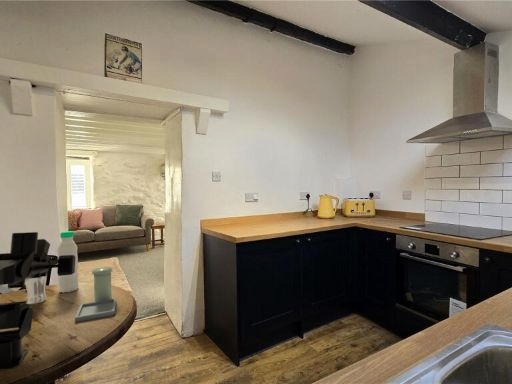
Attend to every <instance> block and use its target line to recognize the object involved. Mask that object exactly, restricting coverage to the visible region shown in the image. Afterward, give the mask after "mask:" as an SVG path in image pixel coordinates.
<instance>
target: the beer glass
mask: <svg viewBox="0 0 512 384" xmlns="http://www.w3.org/2000/svg"><path fill="white" fill-rule="evenodd" d="M47 278H48V275H47V276H44V277H40V278H29V279H25V288H26V291H27V292H26V293H27V297H26V300H25V301H26V304H30V305H37V304H39V303H40V304H41V303H43V302H45V301H46V300H47V295H46V290H45V289H46V285H47V284H46V283H47Z"/></svg>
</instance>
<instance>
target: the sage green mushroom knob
mask: <svg viewBox="0 0 512 384" xmlns="http://www.w3.org/2000/svg"><path fill="white" fill-rule="evenodd" d="M112 272H113V267H111V266H100V267H96V268H94V269H92V270H91V273H92V275H93V285H94V287H93V288H94V291H93V293H94V302H96V301H102V300H108V299H113V298H112V297H113V296H112V295H113V294H112V291H113V289H112Z"/></svg>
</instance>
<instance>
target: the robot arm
mask: <svg viewBox="0 0 512 384" xmlns="http://www.w3.org/2000/svg"><path fill="white" fill-rule="evenodd" d="M38 238H39V232H38V231H34V232H33V231H32V232H31V231H30V232H28V231H27V232H13V233H12V234H11V242H10V252H6V253H0V286H4V285H5V286H6V285H7V288H8V289H21V288H25V287H26V285H25V279H29V278H40V277H44V276H47V277H48V272H49V269H57V270H56V271H57V276H62V275H72V274H73V273H74V272H75V256H74V255H64V256H59V258H58V257H57V260H56V259H54V260H50V259H51V256H50V255H49V254H48V253H49V252H50V251H49V250H50V247H51V243H50V242H49V241H47V239H45V238H39V239H38ZM26 301H27V300H23V301H14V302H12V301H11V302H5V303H4V302H3V303H2V302H1V303H0V370H1V369H5V368H10V367H14V366H18V365H20V364H21V362H22V360H24V358H25V356H26V354H27V353H28V349H27V348H26V349H23V338H24V337H25V336H26V335H28V334H29V332H31V329H32V323H33V318H34V317H33V316H34V309H33V308H32V307H30V306H31V304H27V303H26Z"/></svg>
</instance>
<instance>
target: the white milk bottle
mask: <svg viewBox="0 0 512 384" xmlns="http://www.w3.org/2000/svg"><path fill="white" fill-rule="evenodd" d="M59 234H60V235H59V237H60V239H61V241H60V243H59V245H58V247H57V250H56V251H57V259H58V258H59V256H64V255H74V256H75V272H74V273H73V274H72V275H62V276H58V275H57V276H58V277H57V278H58V279H57V280H58V292H59V293H61V292H62V293H61V294H63V293H65V292H67V293H71V291H72V292H75V291H77V290H78V289H79V272H78V270H79V260H78V259H79V258H78V257H79V255H78V249H79V248H78V246H77V244H76V242H75V241H74V236H75V233H74V231H72V230H69V231H61V232H60V233H59ZM74 290H75V291H74ZM65 294H66V293H65Z"/></svg>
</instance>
